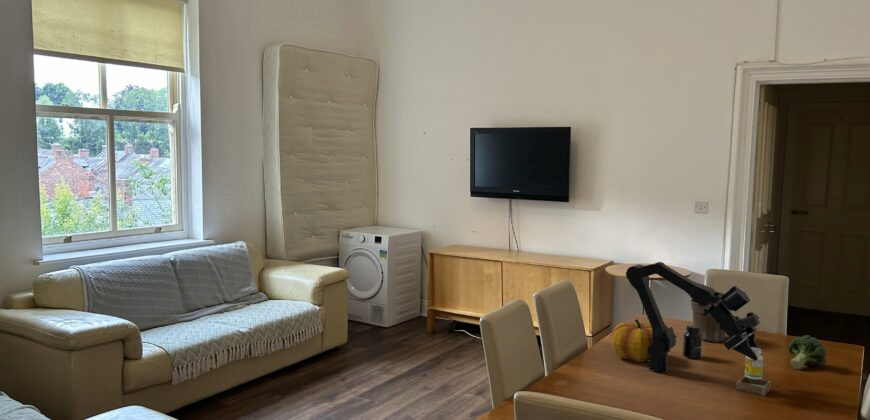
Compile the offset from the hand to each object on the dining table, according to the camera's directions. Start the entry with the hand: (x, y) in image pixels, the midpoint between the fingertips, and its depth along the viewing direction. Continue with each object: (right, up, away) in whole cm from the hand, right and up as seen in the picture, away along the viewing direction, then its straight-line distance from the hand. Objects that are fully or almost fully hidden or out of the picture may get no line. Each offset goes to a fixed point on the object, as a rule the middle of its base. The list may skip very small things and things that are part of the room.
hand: (758, 357), depth 218 cm
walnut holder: (-1, -11, +2) cm, 11 cm away
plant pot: (+10, -6, +65) cm, 66 cm away
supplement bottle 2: (-1, -7, +1) cm, 7 cm away
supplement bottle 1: (-7, -8, +38) cm, 40 cm away
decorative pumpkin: (-29, -8, +37) cm, 47 cm away
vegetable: (+31, -10, +27) cm, 42 cm away
